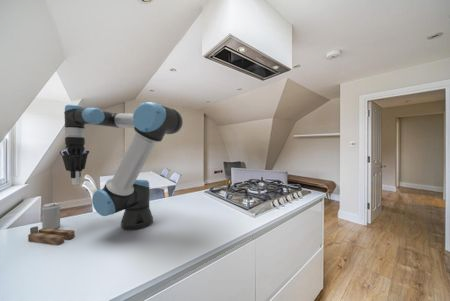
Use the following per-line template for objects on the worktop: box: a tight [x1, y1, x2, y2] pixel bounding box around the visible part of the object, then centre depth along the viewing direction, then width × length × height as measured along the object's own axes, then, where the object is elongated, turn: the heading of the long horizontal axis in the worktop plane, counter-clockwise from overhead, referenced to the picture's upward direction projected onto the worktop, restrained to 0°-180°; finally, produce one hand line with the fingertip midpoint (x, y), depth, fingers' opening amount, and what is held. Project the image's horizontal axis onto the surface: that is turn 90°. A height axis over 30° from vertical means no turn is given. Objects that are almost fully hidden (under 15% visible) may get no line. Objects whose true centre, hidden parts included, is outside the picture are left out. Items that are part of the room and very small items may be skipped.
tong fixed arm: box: [27, 225, 65, 246], centre depth 77 cm, size 19×4×4 cm, turn 79°
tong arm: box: [38, 228, 76, 240], centre depth 80 cm, size 16×2×3 cm, turn 82°
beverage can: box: [41, 202, 61, 229], centre depth 89 cm, size 6×6×12 cm
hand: (75, 184), depth 90 cm, fingers closed
